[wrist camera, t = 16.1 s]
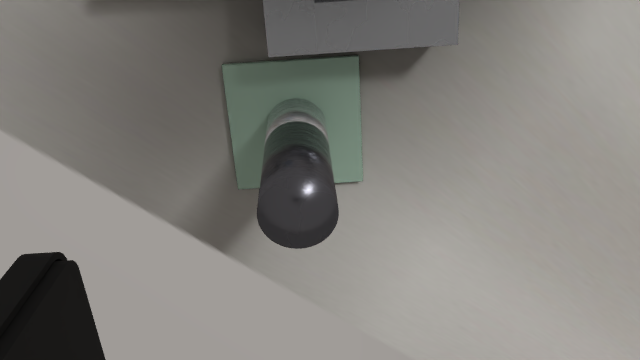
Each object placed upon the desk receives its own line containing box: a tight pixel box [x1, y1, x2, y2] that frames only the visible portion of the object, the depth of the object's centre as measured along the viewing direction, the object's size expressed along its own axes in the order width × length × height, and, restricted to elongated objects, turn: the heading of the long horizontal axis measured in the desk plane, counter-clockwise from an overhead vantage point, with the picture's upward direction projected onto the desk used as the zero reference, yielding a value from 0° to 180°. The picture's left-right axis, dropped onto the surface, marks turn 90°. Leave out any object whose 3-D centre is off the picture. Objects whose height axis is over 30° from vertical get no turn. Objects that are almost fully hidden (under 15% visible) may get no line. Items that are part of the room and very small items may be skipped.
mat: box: [222, 55, 363, 189], centre depth 36 cm, size 8×8×1 cm
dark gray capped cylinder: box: [257, 98, 339, 249], centre depth 31 cm, size 4×4×11 cm
